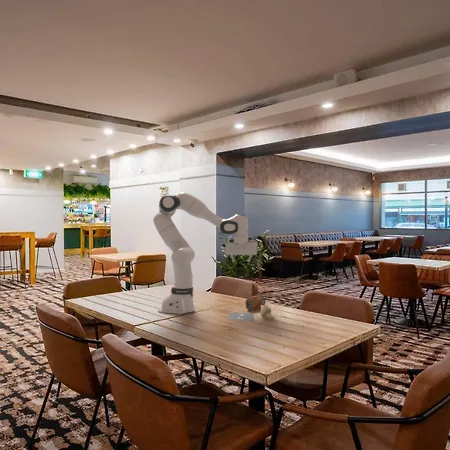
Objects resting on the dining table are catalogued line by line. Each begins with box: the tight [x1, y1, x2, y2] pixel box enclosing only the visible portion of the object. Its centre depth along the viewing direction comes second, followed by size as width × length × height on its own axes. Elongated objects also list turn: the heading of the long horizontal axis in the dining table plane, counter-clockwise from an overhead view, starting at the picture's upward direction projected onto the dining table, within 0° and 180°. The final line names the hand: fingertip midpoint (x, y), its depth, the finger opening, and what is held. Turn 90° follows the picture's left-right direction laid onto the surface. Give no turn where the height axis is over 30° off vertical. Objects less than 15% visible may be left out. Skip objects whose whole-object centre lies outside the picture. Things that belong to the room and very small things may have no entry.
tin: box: [245, 295, 266, 311], centre depth 251 cm, size 15×3×8 cm, turn 129°
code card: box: [228, 312, 255, 322], centre depth 231 cm, size 14×18×1 cm
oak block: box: [260, 304, 272, 321], centre depth 230 cm, size 5×12×6 cm, turn 179°
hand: (241, 261), depth 255 cm, fingers open, 8 cm apart
